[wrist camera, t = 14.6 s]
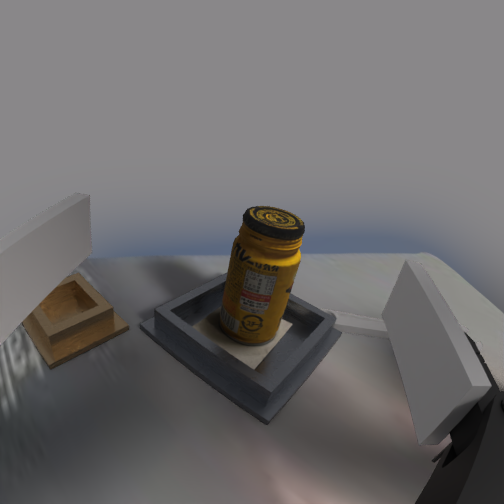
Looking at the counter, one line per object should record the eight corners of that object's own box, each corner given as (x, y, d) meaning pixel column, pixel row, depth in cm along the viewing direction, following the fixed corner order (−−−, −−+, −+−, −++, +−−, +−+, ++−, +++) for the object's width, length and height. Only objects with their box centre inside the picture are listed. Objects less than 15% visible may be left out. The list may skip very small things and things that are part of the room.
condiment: (292, 325, 33) (325, 221, 28) (252, 372, 27) (287, 250, 21) (234, 296, 36) (255, 195, 31) (186, 333, 29) (200, 213, 24)
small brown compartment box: (128, 329, 29) (127, 308, 27) (50, 369, 22) (43, 348, 21) (84, 285, 33) (82, 265, 32) (16, 312, 26) (10, 292, 25)
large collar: (340, 336, 34) (348, 318, 33) (267, 424, 22) (275, 407, 21) (234, 277, 41) (238, 260, 40) (140, 328, 29) (139, 307, 28)
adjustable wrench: (311, 331, 35) (316, 319, 34) (312, 300, 41) (316, 288, 40) (480, 362, 33) (487, 352, 32) (466, 333, 39) (472, 324, 38)
